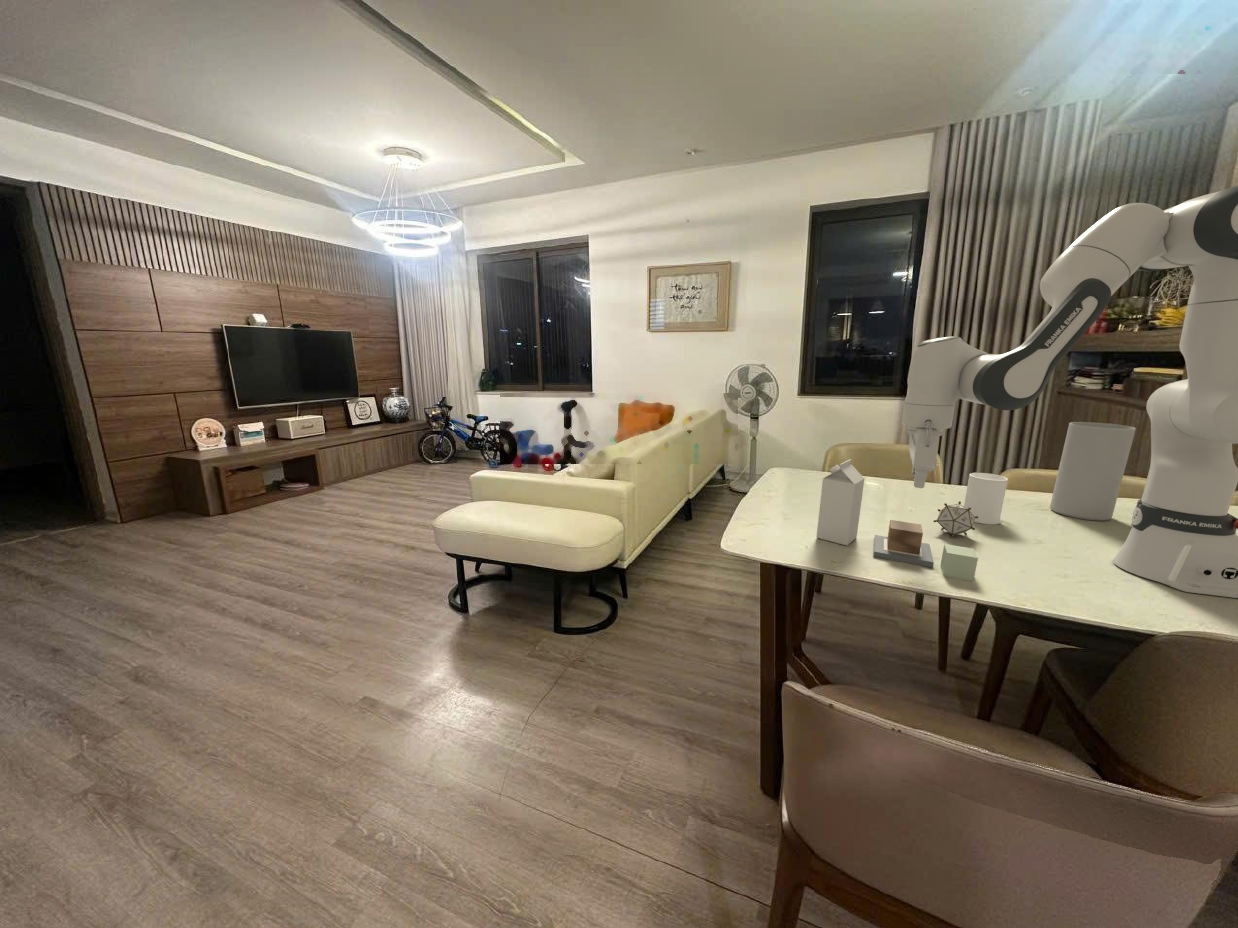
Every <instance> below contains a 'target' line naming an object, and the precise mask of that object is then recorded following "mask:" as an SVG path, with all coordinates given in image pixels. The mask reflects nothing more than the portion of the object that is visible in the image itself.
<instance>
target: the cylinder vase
mask: <svg viewBox="0 0 1238 928" xmlns="http://www.w3.org/2000/svg"><path fill="white" fill-rule="evenodd" d="M1135 433H1136V427H1134V426H1129V425H1123V424H1122V425H1121V424H1115V423H1106V422H1104V423H1103V422H1089V421H1088V422H1087V421H1086V422H1085V421H1074V422H1073V421H1072V422H1069V423H1068V428H1067V433H1066V436H1065V441H1064V443H1063V444H1064V445H1063V449H1062V454H1061V457H1060V462H1059V466H1058V470H1057V474H1056V475H1057V476H1056V480H1055V482H1054V483H1055V484H1054V488H1053V493H1052V497H1051V499H1050V500H1051V502H1050V504H1049V505H1050V506H1049V507H1050V510H1052V511H1053V512H1055V513H1057V514H1059V515H1062V516H1066V517H1069V518H1074V519H1079V520H1086V521H1097V522H1103V521H1108V520H1112V518H1113V515H1114V511H1115V508H1116V504H1117V501H1118V496H1119V493H1120V491H1121V490H1120V489H1121V486H1122V482H1123V477H1124V475H1125V470H1126V466H1127V463H1128V459H1129V454H1130V453H1131V448H1132V444H1133V441H1134V437H1135Z"/></svg>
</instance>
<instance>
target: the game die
mask: <svg viewBox="0 0 1238 928" xmlns="http://www.w3.org/2000/svg"><path fill="white" fill-rule="evenodd" d="M943 505H944V507H943V508H942V509H939V508H938V509H937V512H939V514H938V516H937V519H936V520H935V519H934V520H933V521H932V522H934V523H938V524H939V526H941V528H940V529H941V530H940V531H946V532H947V533H948V534H950V538H953V537H954V536H955V535H960V534H964V536H967V535H968V533H967V532H969V531H970V530H972V531H976V528H975V527H973V526H974V523H975V522H974V519H975V518H978V516H975V517H974V515H973V514H972V513H971V512H970V511H969V510H971V508H968V509H967V508H965V507H964V505H962V502H961V500H960V501H958V504H957V503H956V504H949V505H948V503H946V502H944V504H943Z"/></svg>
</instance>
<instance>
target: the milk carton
mask: <svg viewBox="0 0 1238 928" xmlns="http://www.w3.org/2000/svg"><path fill="white" fill-rule="evenodd" d="M851 463H852V459H847V460H846V461H844V462H841V463H840V464H836V465H834V466H832V467H830V468H829V470H828V471H830V472H831V473H830V474H828V475H826V476H825V477H823V478H822V482H821V483H822V485H821V493H820V494H821V495H820V503H819V510H818V511H819V512H818V521H817V529H816V538H817V539H820V540H824V541H827V542H832V543H834V544H840V545H844V546H849V545H850V544H851V543H853V541H854V540H855V539H857V538H858V530H859V521H860V515H861V506H862V499H863V490H864V485H865V477H864V476H863V475H862V474H861V473H860V472H859V471H858V470H857V469H856V467H854V465H852V464H851Z"/></svg>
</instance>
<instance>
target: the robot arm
mask: <svg viewBox="0 0 1238 928" xmlns="http://www.w3.org/2000/svg"><path fill="white" fill-rule="evenodd" d="M1182 267H1188V268H1189V269H1190V271H1191V273H1192V277H1193V283H1192V286H1191V289H1190V292H1189V297H1188V300H1187V304H1186V305H1187V306H1186V310H1185V315H1184V320H1183V325H1182V330H1181V335H1180V340H1179V345H1178V347H1179V352H1180V353H1181V354H1182V356H1183V358H1184V361H1185V367H1186V373H1187V374H1186V375H1187V378H1186V379H1181V380H1177V381H1173V382H1170V383H1167V384H1164V385H1163V386H1161V387H1158V388H1157V389H1156V390H1154V391H1153V392H1152V393H1151V395H1149V397H1148V400H1147V401H1146V406H1145V407H1146V412H1147V415H1148V417H1149V419H1150V442H1151V443H1150V447H1151V450H1150V451H1151V453H1150V454H1151V455H1150V464H1149V465H1150V466H1149V470H1148V474H1147V477H1146V481H1145V485H1144V488H1143V493H1142V496H1141V498H1140V499H1137V503H1136V506H1135V508H1134V510H1133V512H1132V518H1131V529H1130V531H1129V533H1128V536H1127V537H1126V539H1125V541H1124V543H1123V545H1122V546H1121V548H1120V550H1119V551H1118V552H1117V554H1116V555H1115V556H1114V557H1113V558H1112V562H1113V564H1114V565H1116V566H1117V567H1119V568H1120V569H1123V570H1124V571H1126V572H1129V573H1131V574H1134V575H1136V576H1139V577H1142V578H1145V579H1148V580H1151V581H1154V582H1157V583H1161V584H1164V585H1166V586H1169V587H1171V588H1173V589H1176V590H1179V591H1182V592H1186V593H1193V594H1200V595H1210V596H1215V597H1216V596H1219V597H1226V598H1234V599H1238V535H1237V532H1236V531H1237V530H1238V517H1235V516H1234V515H1232V514H1230V513H1229V509H1230V507H1231V505H1232V502H1233V497H1234V494H1235V492H1236V488H1237V485H1238V466H1237V465H1236V463H1235V459H1234V455H1233V454H1234V453H1233V445H1234V444H1236V445H1237V444H1238V185H1234V186H1231V187H1228V188H1225V189H1223V190H1221V191H1216V192H1211V193H1208V194H1203V195H1201V196H1197V197H1195V198H1192V199H1191V198H1190V199H1188V200H1186V201H1183V202H1182V203H1179V204H1177V205H1174V206H1171V207H1169V208H1167V209H1164V210H1163V209H1161V208H1160V207H1158V206H1156V205H1154V204H1151V203H1145V202H1131V203H1127V204H1126V203H1125V204H1124V205H1123V204H1122V205H1121V206H1119V207H1116V208H1114V209H1113V210H1111V211H1109V212H1108V213H1107V214H1105V215H1104V216H1103V217H1101V218H1100V219H1099V220H1097V221H1096V222H1095V223H1094V224H1093V225H1091V226H1090V227H1089V228H1088V229H1087V230H1085V231H1084V232H1083V233H1082V234H1081V235H1079V236H1078V237H1077V238H1076V239H1075V240H1074V241H1073V242H1072V243H1071V244H1070V245H1069V246H1068V247H1067V248H1066V249H1065V250H1064V251H1063V252H1062V253H1061V254H1060V255H1059V256H1058V257H1057V258H1056V259H1055V260H1054V261H1053V262H1052V264H1051V265H1050V266H1049V267H1048V269H1047V270H1046V272H1045V273H1044V275H1043V276H1042V277H1041V279H1040V282H1039V283H1040V284H1039V292H1040V294H1041V297H1042V298H1043V300H1044V302H1045V303H1047V304H1048V305H1049V306H1050V307H1051V309H1050V311H1049V313H1048V314H1047V315H1046V317H1045V318H1044V319H1043V320H1042V321H1041V322H1040V323H1039V324H1038V325H1037V327H1036V328H1035V329H1034V330H1033V331H1032V332H1031V333H1030V335H1029V336H1028V337H1027V338H1026V339H1025V340H1024V342H1022V344H1021V345H1019V346H1017V347H1016V348H1015V349H1013V350H1011V351H1007V352H1004V353H1002V354H998V353H997V354H996V353H995V354H994V353H988V352H987V351H984V350H980V349H978V348H975V347H974V346H972V345H969V344H968V343H967V342H965V341H964V340H963V339H962V338H961V337H960V336H955V335H954V336H952V335H951V336H945V337H944V336H943V337H936V338H930V339H927V340H924V341H922V342H920V343H919V344H918V345H916V347H915V349H914V350H913V353H912V356H911V359H910V365H909V369H908V374H907V380H906V381H907V387H908V388H907V390H908V391H907V395H906V397H905V399H904V404H903V411H902V417H901V418H902V419H901V425H903V426H905V427H907V431H906V432H907V433H908V450H909V456H910V460H911V462H912V468H911V477H912V478H914V480H913V486H914V488H917V489H924V488H925V485H926V479H927V478H928V477H927V476H928V475H929V471H934V470H935V468H936V463H937V459H938V458H937V457H938V451H939V443H940V442H939V441H940V437H941V436H943V435H944V430H945V429H947V430H948V429H951V428H952V425H953V419H954V416H955V408H956V402H957V401H958V400H963V401H967V402H971V403H975V404H979V405H980V404H981V405H985V406H988V407H990V408H993V409H996V410H1000V411H1015V410H1019V409H1021V408H1025V407H1026V406H1028V405H1030V404H1031V403H1033V402H1034V401H1035V400H1036V399H1038V398H1039V397H1040V395H1041V394H1042V393H1043V392H1044V390H1045V388H1046V386H1047V384H1048V383H1049V379H1050V377H1051V376H1052V374H1053V372H1055V369H1056V367H1058V365H1059V364H1060V362H1061V361H1062V360H1063V359H1064V358H1065V357H1066V355H1067V354H1068V353H1069V352H1070V351H1071V350H1072V349H1073V347H1074V346H1075V345H1076V344H1077V343H1078V342H1079V340H1080V339H1081V338H1082V337H1083V336H1084V335H1085V334H1086V333H1087V332H1088V330H1089V329H1090V328H1091V327H1092V326H1093V325H1094V324H1095V322H1096V321H1097V320H1098V318H1099V317H1100V316H1101V315H1102V314H1103V312H1104V311H1105V309H1106V308H1107V306H1108V304H1109V303H1110V301H1111V297H1112V296H1113V295H1114V294H1115V292H1117V291H1118V290H1119V289H1120V288H1121V287H1122V285H1124V283H1125V282H1127V280H1129V279H1130V277H1132V275H1134V273H1136V271H1141V272H1157V271H1158V272H1159V271H1162V270H1166V269H1167V270H1168V269H1174V268H1175V269H1177V268H1182Z"/></svg>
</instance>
